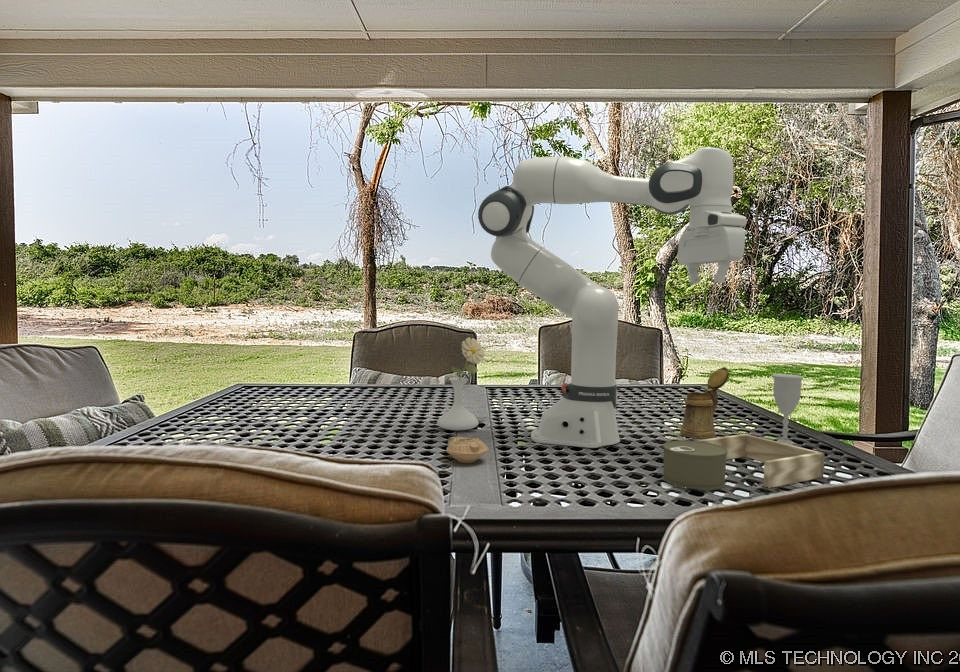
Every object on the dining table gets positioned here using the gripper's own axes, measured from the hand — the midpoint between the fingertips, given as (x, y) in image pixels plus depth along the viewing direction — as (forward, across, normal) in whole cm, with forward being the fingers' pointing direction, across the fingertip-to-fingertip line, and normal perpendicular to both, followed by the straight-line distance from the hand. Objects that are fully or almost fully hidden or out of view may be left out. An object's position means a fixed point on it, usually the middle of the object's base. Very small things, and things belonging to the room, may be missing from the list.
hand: (706, 283), depth 136 cm
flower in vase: (+41, -38, -48) cm, 73 cm away
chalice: (+39, -2, +25) cm, 47 cm away
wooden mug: (+40, -20, +15) cm, 47 cm away
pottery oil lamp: (+41, -7, -53) cm, 67 cm away
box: (+40, +12, +6) cm, 42 cm away
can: (+40, +17, -12) cm, 45 cm away
